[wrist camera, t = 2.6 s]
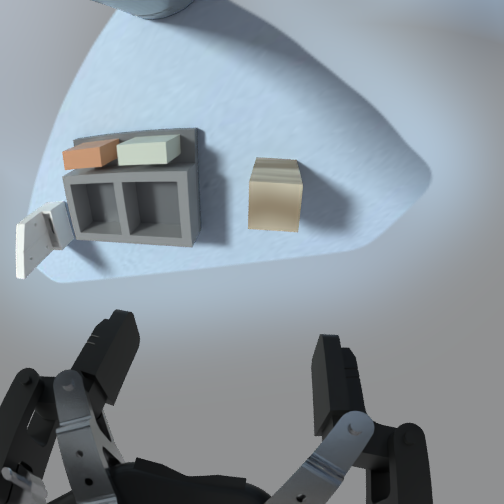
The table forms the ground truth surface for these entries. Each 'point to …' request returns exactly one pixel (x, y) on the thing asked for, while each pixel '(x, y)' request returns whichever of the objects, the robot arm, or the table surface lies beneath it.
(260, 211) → the tan rectangular block
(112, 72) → the table surface
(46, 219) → the white angled block
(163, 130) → the socket block
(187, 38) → the table surface
